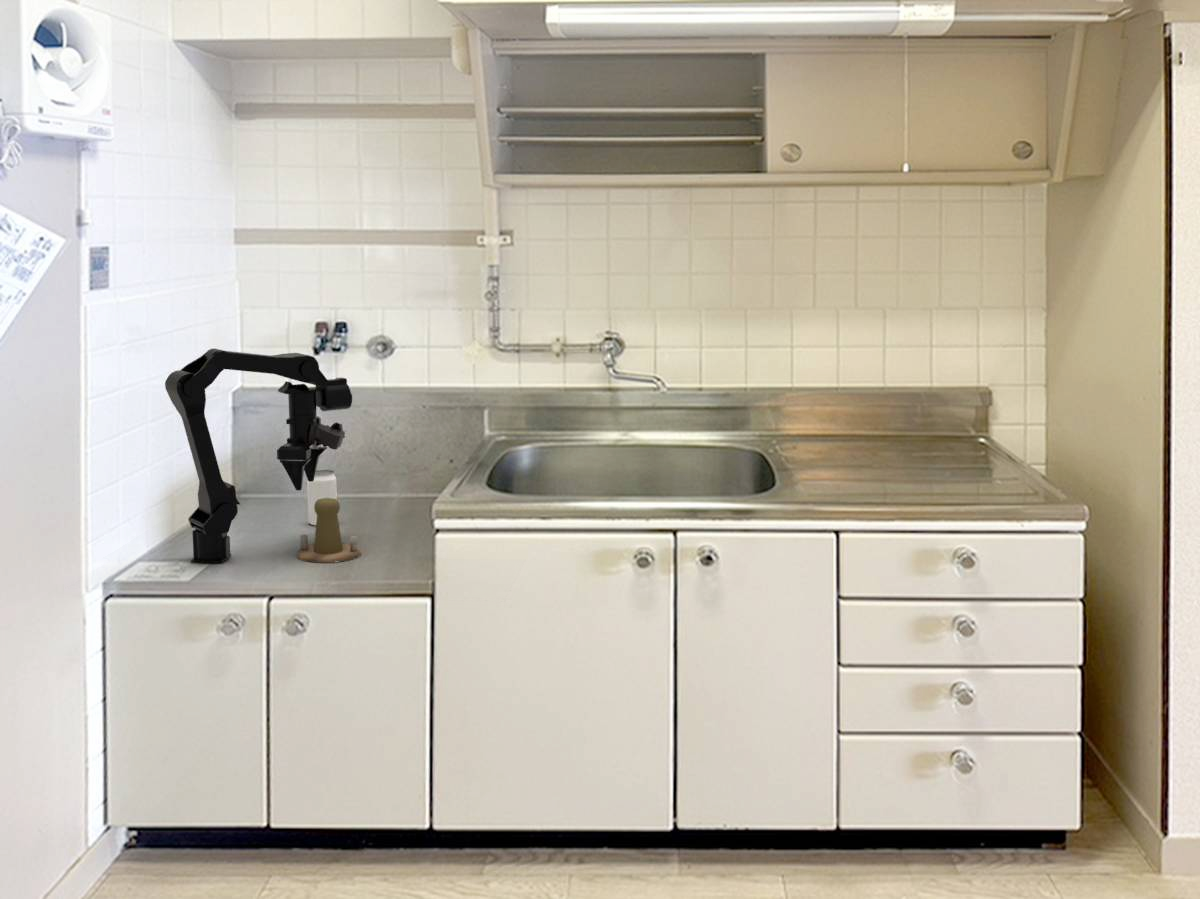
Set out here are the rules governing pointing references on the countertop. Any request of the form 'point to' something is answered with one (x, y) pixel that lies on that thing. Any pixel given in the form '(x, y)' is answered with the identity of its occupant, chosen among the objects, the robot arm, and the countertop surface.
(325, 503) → the cork
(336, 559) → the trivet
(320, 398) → the robot arm
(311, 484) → the can
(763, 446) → the countertop surface
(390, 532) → the countertop surface
